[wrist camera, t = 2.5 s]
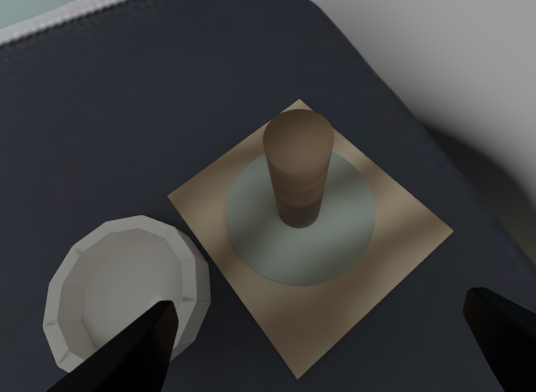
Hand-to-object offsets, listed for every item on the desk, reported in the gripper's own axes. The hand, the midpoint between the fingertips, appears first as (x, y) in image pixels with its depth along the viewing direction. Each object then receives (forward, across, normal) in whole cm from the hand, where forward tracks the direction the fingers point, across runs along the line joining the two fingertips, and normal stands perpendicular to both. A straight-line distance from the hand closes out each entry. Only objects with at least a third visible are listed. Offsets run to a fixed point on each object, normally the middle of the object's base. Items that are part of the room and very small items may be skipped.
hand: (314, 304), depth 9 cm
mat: (+15, 0, +4) cm, 15 cm away
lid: (+14, 0, +4) cm, 15 cm away
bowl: (+10, +13, +8) cm, 19 cm away
